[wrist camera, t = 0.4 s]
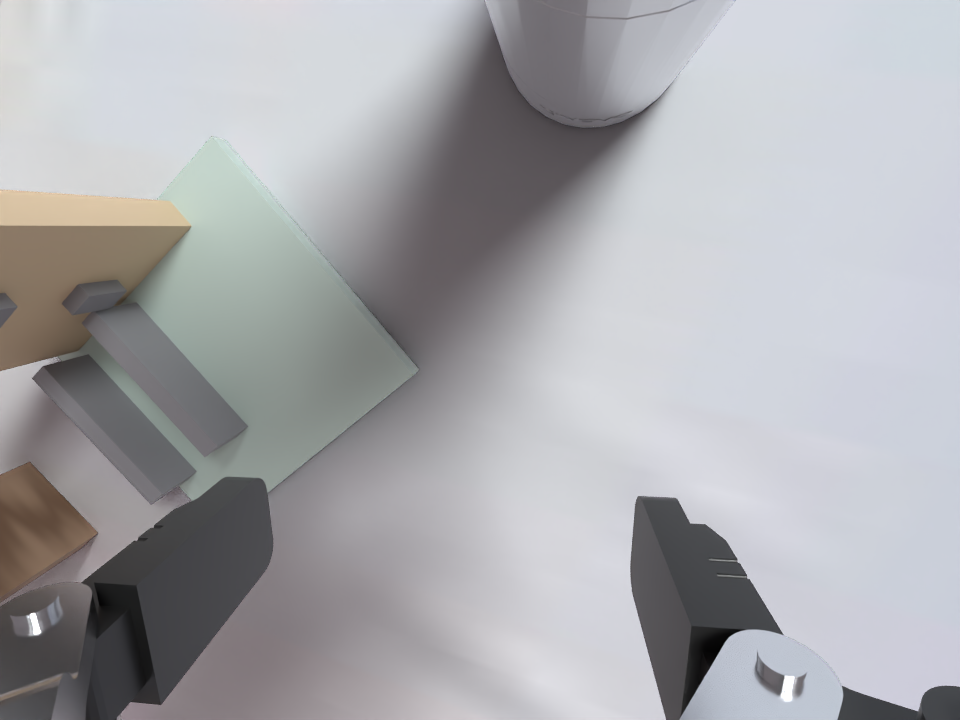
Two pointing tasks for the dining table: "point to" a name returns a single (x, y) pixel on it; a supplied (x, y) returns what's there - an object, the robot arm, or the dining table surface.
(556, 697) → the dining table surface
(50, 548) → the door panel
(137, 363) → the cabinet frame
